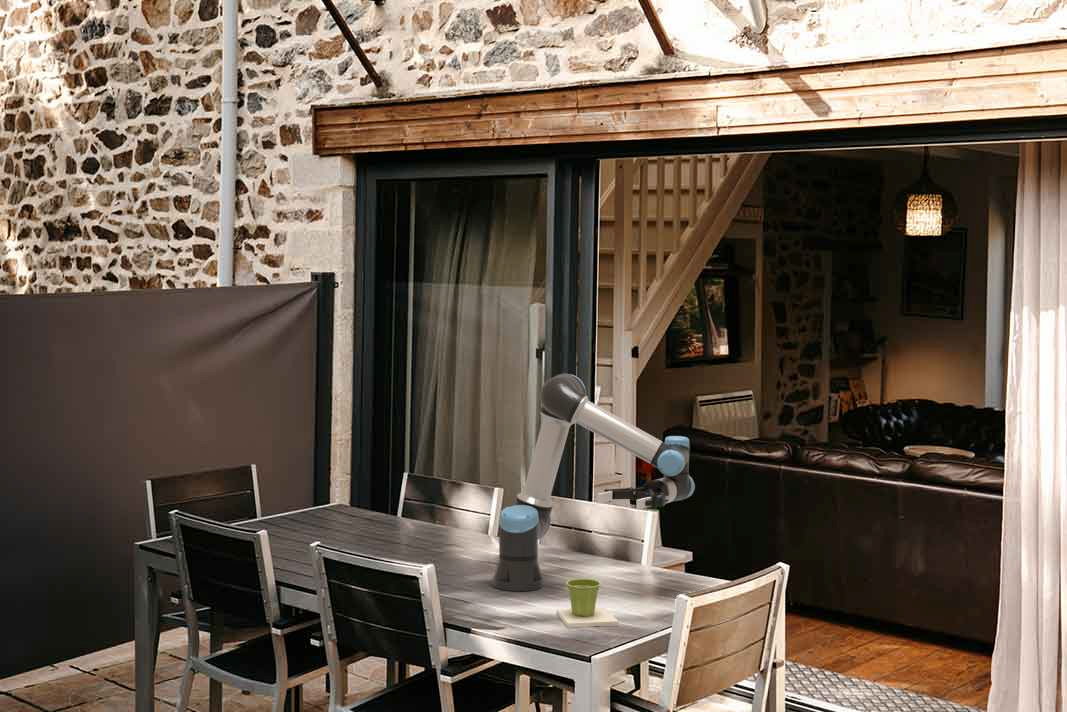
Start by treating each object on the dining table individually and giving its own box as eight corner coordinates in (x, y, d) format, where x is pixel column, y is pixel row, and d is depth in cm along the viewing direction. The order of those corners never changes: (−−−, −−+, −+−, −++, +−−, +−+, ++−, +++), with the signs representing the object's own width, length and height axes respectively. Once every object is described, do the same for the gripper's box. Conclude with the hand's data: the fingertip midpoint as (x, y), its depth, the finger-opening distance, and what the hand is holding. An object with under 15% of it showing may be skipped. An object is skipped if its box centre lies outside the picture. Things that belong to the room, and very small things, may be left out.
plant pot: (578, 620, 336) (579, 588, 335) (559, 612, 344) (559, 581, 343) (606, 615, 341) (607, 584, 340) (586, 607, 349) (587, 577, 348)
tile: (556, 613, 347) (556, 609, 346) (605, 611, 349) (605, 607, 349) (567, 627, 333) (567, 623, 333) (618, 625, 336) (618, 621, 336)
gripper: (694, 510, 363) (654, 520, 346) (623, 499, 378) (582, 508, 362) (694, 484, 362) (654, 494, 346) (624, 474, 378) (582, 483, 361)
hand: (617, 501), depth 354 cm, fingers open, 13 cm apart
